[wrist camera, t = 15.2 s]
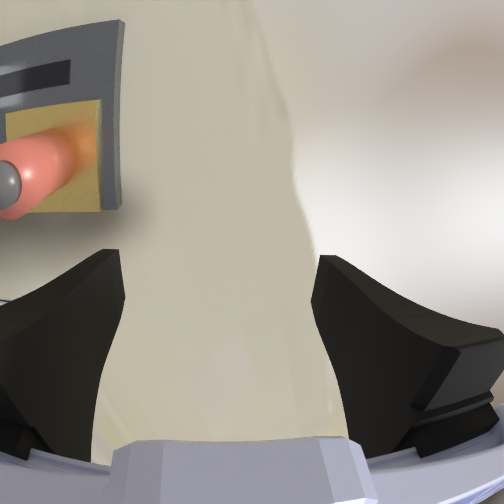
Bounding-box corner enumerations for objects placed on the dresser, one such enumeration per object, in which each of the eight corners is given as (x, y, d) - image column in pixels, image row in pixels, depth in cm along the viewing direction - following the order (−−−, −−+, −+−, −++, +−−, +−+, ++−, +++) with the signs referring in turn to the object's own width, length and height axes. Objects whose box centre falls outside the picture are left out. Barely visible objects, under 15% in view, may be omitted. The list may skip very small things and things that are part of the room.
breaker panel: (121, 203, 20) (114, 213, 19) (-40, 208, 18) (-52, 216, 17) (125, 23, 15) (116, 17, 13) (-49, 69, 13) (-63, 70, 11)
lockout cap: (78, 188, 18) (34, 223, 13) (28, 192, 17) (-20, 226, 12) (73, 125, 16) (22, 141, 11) (22, 133, 16) (-32, 152, 11)
